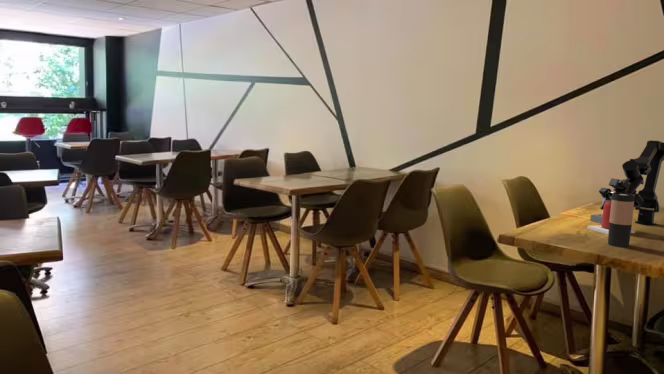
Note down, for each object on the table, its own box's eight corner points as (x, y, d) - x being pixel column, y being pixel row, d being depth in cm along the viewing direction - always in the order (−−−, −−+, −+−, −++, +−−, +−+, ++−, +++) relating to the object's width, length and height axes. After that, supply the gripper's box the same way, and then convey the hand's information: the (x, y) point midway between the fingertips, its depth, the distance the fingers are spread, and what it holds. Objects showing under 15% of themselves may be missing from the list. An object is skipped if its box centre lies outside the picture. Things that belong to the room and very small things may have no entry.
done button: (605, 217, 242) (606, 210, 241) (612, 219, 238) (613, 211, 237) (598, 218, 240) (599, 210, 240) (605, 219, 236) (606, 212, 236)
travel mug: (602, 242, 200) (607, 192, 197) (621, 242, 201) (626, 192, 198) (615, 247, 192) (620, 195, 190) (634, 247, 193) (639, 195, 190)
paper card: (611, 226, 229) (611, 224, 229) (634, 232, 218) (635, 230, 217) (587, 228, 224) (587, 225, 224) (609, 234, 213) (610, 232, 213)
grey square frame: (604, 219, 245) (605, 213, 244) (620, 223, 236) (621, 217, 236) (590, 220, 242) (590, 214, 242) (605, 224, 234) (606, 218, 233)
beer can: (620, 230, 217) (623, 202, 215) (603, 228, 218) (607, 201, 216) (614, 227, 223) (618, 200, 222) (598, 225, 224) (602, 199, 223)
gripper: (603, 169, 227) (582, 194, 225) (641, 174, 210) (618, 202, 208) (615, 186, 231) (594, 211, 229) (653, 192, 213) (630, 219, 211)
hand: (608, 210), depth 219 cm, fingers open, 8 cm apart
